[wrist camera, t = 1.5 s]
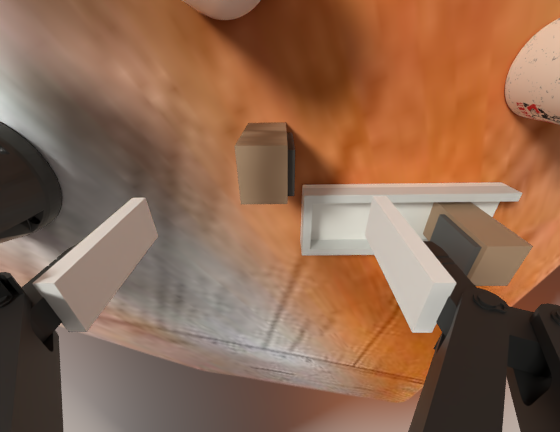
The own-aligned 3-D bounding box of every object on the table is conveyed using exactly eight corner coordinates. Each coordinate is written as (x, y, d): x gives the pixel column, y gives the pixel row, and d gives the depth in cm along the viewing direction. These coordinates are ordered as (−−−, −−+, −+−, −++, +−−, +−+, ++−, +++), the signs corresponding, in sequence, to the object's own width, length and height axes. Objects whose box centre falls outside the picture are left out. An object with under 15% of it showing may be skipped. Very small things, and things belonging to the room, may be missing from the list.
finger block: (251, 167, 29) (240, 204, 21) (248, 123, 26) (234, 146, 19) (290, 167, 29) (294, 203, 21) (291, 122, 26) (295, 145, 18)
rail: (300, 241, 34) (306, 298, 26) (302, 184, 30) (310, 231, 21) (473, 239, 34) (538, 297, 25) (501, 182, 30) (591, 229, 21)
